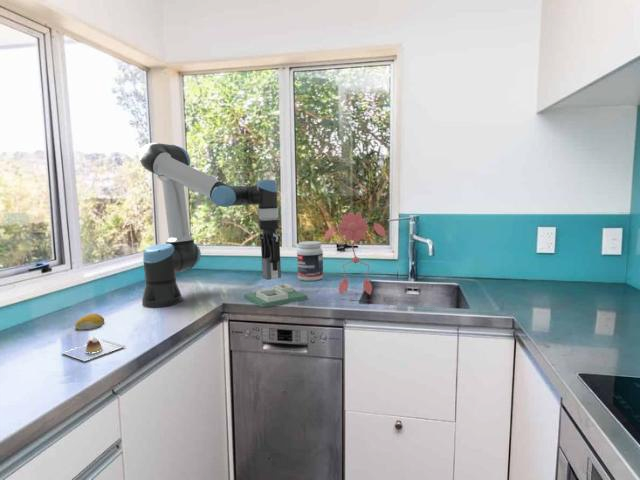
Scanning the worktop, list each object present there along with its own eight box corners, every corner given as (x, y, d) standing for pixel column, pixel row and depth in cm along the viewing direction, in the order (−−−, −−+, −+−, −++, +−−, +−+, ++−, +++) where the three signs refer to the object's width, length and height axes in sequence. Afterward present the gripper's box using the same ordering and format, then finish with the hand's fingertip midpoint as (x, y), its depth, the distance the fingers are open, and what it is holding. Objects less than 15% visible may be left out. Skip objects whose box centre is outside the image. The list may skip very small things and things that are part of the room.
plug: (267, 280, 161) (266, 259, 160) (262, 278, 165) (261, 258, 164) (282, 277, 165) (281, 257, 164) (277, 275, 169) (276, 256, 168)
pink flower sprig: (328, 290, 181) (326, 211, 176) (387, 292, 175) (386, 210, 170) (319, 300, 167) (316, 214, 162) (383, 303, 160) (382, 213, 155)
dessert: (61, 356, 116) (59, 340, 115) (102, 342, 126) (101, 327, 125) (84, 365, 109) (83, 347, 109) (126, 349, 119) (124, 333, 119)
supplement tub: (294, 281, 202) (292, 244, 199) (302, 275, 214) (301, 240, 212) (319, 282, 198) (318, 244, 196) (326, 276, 210) (325, 241, 208)
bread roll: (106, 321, 146) (105, 310, 145) (99, 329, 137) (98, 317, 137) (80, 323, 144) (79, 312, 143) (71, 331, 135) (70, 320, 135)
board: (262, 307, 157) (262, 298, 157) (244, 297, 172) (244, 289, 172) (307, 298, 168) (307, 290, 167) (286, 290, 183) (286, 282, 183)
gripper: (287, 219, 157) (290, 279, 159) (267, 217, 171) (270, 272, 174) (269, 220, 153) (272, 282, 155) (251, 219, 167) (254, 275, 170)
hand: (271, 277), depth 165 cm, fingers closed on plug, 4 cm apart
